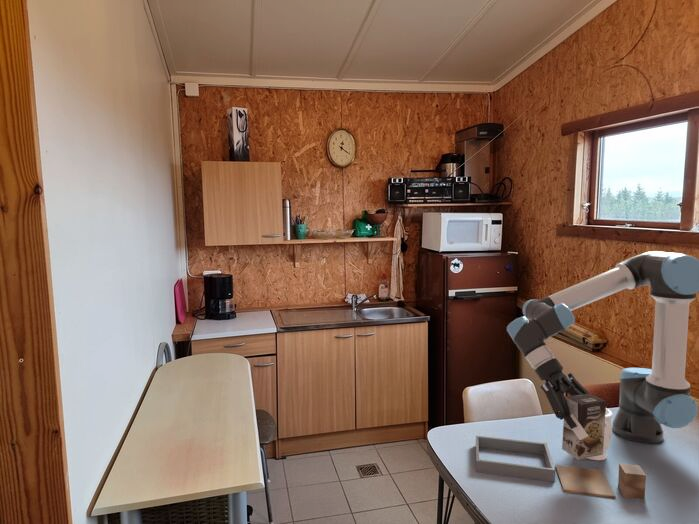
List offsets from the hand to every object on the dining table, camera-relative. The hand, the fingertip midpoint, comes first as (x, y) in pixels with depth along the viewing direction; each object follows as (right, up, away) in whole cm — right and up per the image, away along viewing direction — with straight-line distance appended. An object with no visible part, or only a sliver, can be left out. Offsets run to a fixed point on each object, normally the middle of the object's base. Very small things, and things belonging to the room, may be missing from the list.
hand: (594, 432), depth 127 cm
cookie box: (-2, -7, +3) cm, 8 cm away
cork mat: (-1, -16, +4) cm, 16 cm away
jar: (+9, -14, +19) cm, 25 cm away
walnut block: (+9, -16, -2) cm, 19 cm away
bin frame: (-18, -15, +15) cm, 27 cm away
